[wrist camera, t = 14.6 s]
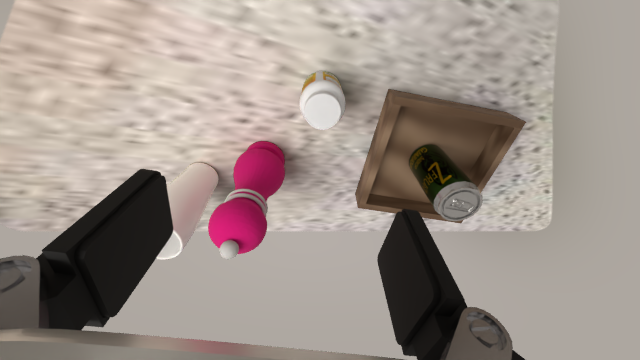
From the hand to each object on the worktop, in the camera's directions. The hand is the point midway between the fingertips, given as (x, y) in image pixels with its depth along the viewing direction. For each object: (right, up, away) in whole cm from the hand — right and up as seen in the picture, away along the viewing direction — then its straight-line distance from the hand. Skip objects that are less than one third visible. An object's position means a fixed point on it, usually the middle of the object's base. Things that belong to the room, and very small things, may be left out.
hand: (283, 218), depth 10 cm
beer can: (+18, +5, +29) cm, 35 cm away
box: (+18, +5, +30) cm, 36 cm away
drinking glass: (-18, +2, +32) cm, 37 cm away
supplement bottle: (+2, +14, +25) cm, 29 cm away
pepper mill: (-7, +5, +30) cm, 32 cm away
